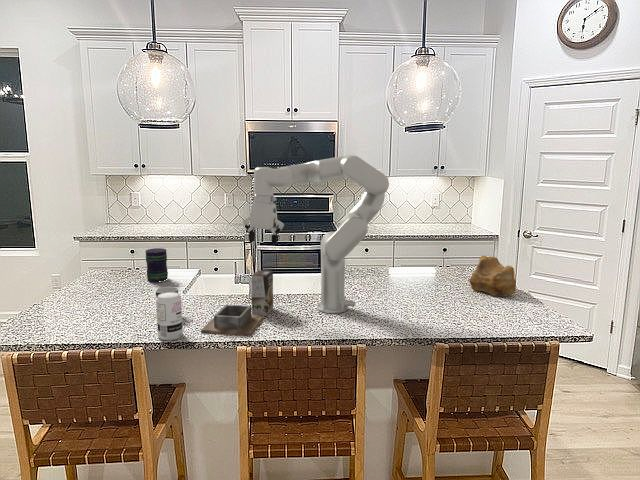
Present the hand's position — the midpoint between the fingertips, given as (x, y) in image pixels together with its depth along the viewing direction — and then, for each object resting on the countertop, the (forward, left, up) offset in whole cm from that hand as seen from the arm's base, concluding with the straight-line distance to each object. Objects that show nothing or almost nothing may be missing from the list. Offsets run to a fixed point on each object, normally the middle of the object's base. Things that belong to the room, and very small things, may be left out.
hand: (262, 243), depth 192 cm
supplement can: (+25, +32, -28) cm, 49 cm away
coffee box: (0, +2, -28) cm, 28 cm away
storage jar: (+63, -36, -28) cm, 78 cm away
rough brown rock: (-95, -41, -28) cm, 107 cm away
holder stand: (+7, +18, -28) cm, 34 cm away
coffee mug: (+35, +12, -28) cm, 46 cm away
